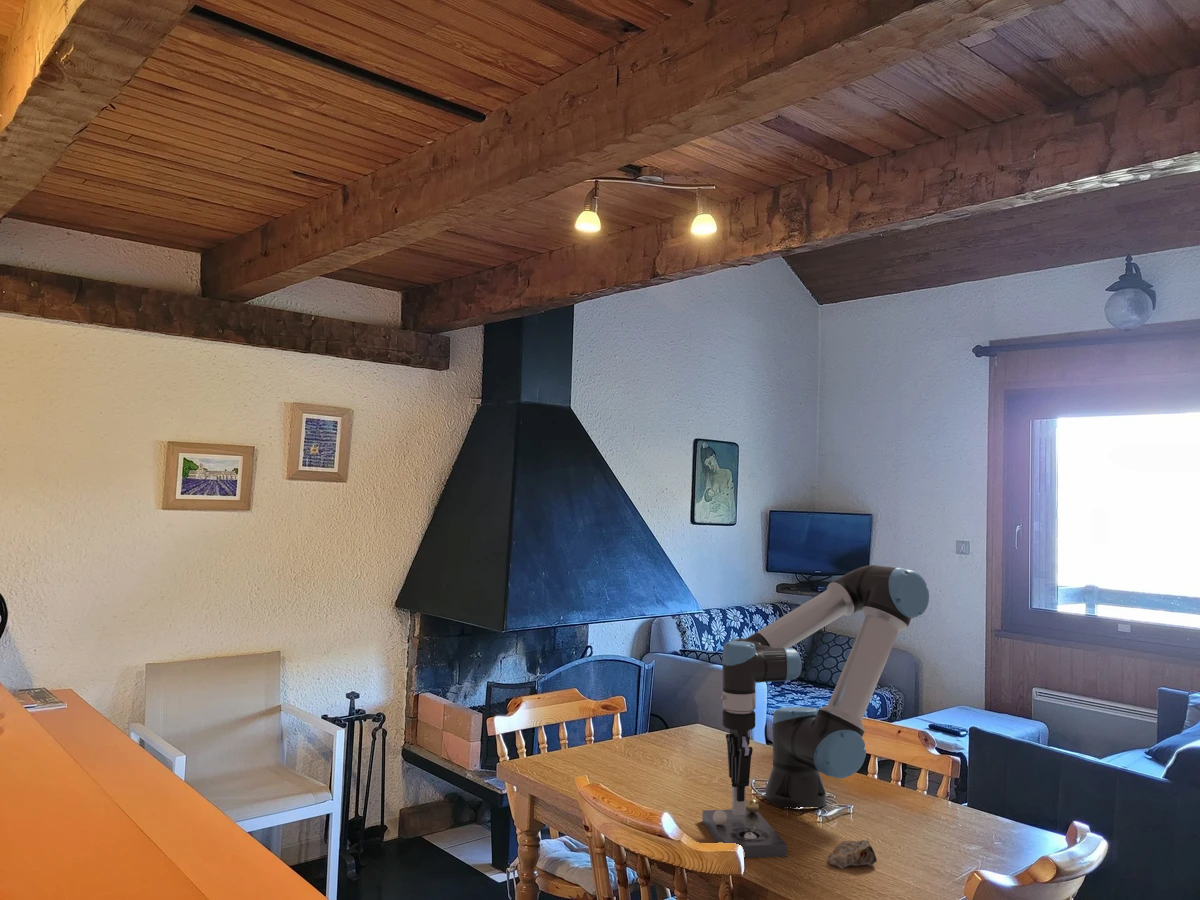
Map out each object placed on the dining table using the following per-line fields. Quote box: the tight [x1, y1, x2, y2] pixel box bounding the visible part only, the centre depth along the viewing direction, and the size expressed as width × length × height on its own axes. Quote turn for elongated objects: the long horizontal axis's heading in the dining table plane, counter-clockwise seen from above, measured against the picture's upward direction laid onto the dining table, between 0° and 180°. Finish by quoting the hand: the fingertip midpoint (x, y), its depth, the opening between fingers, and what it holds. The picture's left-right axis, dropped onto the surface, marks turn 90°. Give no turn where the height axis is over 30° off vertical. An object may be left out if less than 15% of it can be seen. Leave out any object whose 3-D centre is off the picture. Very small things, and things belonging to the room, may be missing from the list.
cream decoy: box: [713, 809, 727, 825], centre depth 200 cm, size 3×3×3 cm
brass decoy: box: [745, 798, 760, 813], centre depth 208 cm, size 3×3×3 cm
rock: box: [827, 839, 877, 870], centre depth 186 cm, size 9×6×10 cm
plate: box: [701, 808, 788, 859], centre depth 198 cm, size 22×13×2 cm, turn 7°
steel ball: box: [743, 832, 757, 839], centre depth 193 cm, size 3×3×3 cm
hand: (738, 813), depth 203 cm, fingers closed
